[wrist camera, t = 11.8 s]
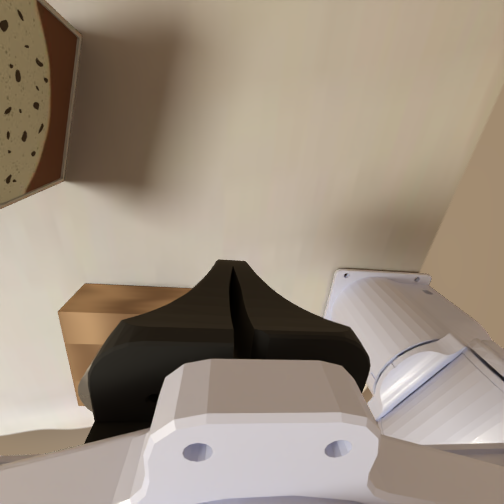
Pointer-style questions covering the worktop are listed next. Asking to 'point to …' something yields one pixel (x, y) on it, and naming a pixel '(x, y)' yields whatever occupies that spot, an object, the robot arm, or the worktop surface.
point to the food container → (35, 96)
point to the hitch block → (104, 318)
